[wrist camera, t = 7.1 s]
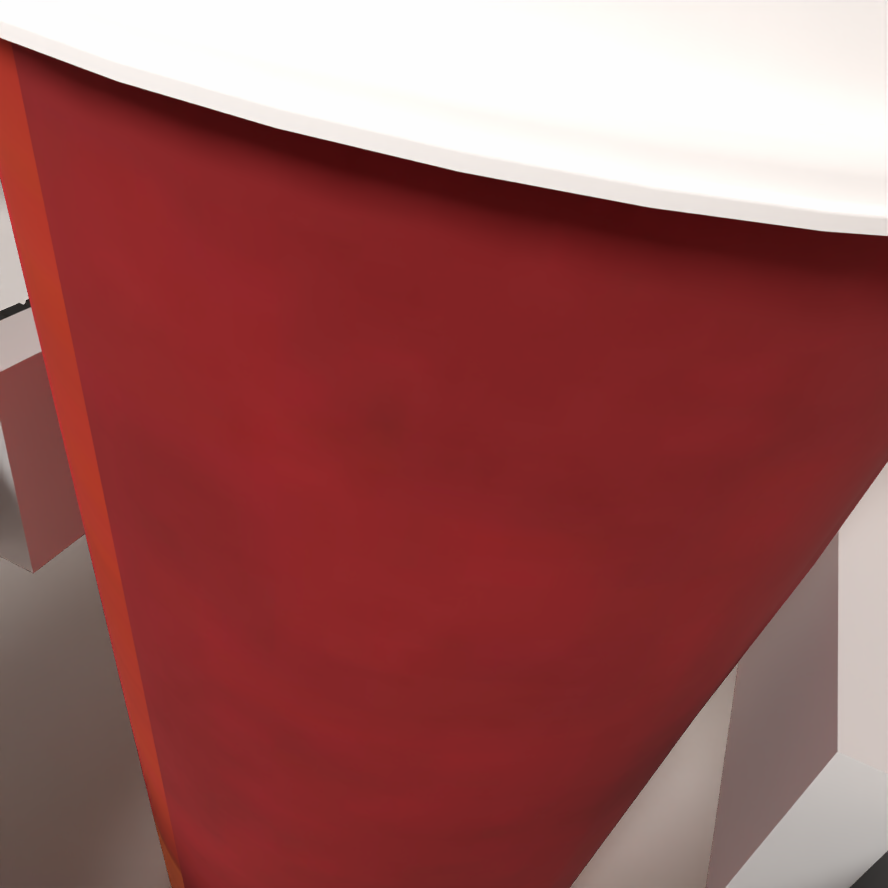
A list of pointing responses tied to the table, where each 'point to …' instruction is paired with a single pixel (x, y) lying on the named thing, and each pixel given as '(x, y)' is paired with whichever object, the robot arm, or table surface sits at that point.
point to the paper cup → (444, 393)
